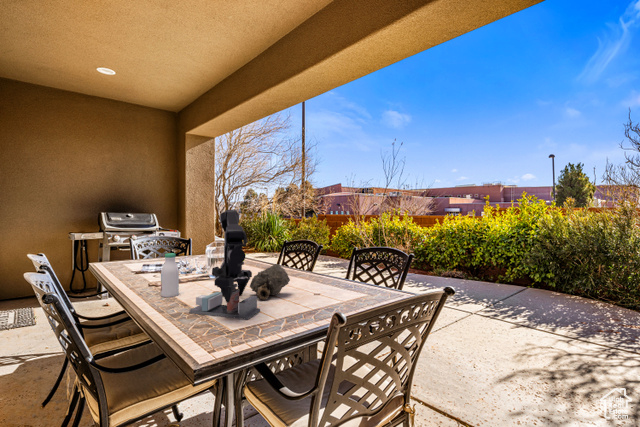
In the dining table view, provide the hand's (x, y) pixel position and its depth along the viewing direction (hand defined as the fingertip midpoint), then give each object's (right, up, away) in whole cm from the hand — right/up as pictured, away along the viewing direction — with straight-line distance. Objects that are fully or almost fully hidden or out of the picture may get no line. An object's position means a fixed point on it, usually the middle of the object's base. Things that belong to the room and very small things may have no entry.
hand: (234, 299), depth 123 cm
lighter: (0, -5, 0) cm, 5 cm away
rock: (+9, -6, +24) cm, 27 cm away
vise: (-4, -6, +1) cm, 7 cm away
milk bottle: (-38, -5, +25) cm, 46 cm away
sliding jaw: (-12, -4, +3) cm, 13 cm away
